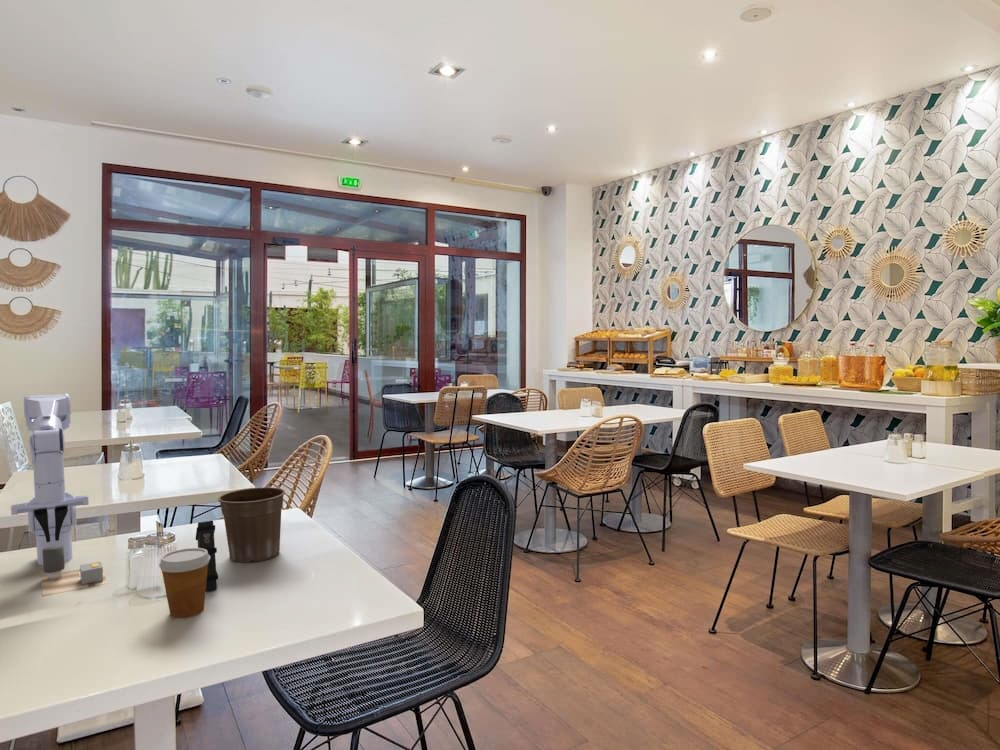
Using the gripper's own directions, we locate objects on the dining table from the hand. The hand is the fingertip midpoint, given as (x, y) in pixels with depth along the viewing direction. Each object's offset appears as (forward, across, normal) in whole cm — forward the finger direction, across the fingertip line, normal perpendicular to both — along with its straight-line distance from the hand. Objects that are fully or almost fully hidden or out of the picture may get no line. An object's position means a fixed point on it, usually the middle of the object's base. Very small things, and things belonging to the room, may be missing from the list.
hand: (52, 540), depth 149 cm
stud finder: (+9, +7, -7) cm, 13 cm away
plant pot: (+11, +42, -8) cm, 44 cm away
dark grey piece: (+9, 0, 0) cm, 9 cm away
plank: (+10, +4, -4) cm, 12 cm away
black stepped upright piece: (+11, +28, -21) cm, 37 cm away
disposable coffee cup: (+11, +22, -36) cm, 43 cm away
